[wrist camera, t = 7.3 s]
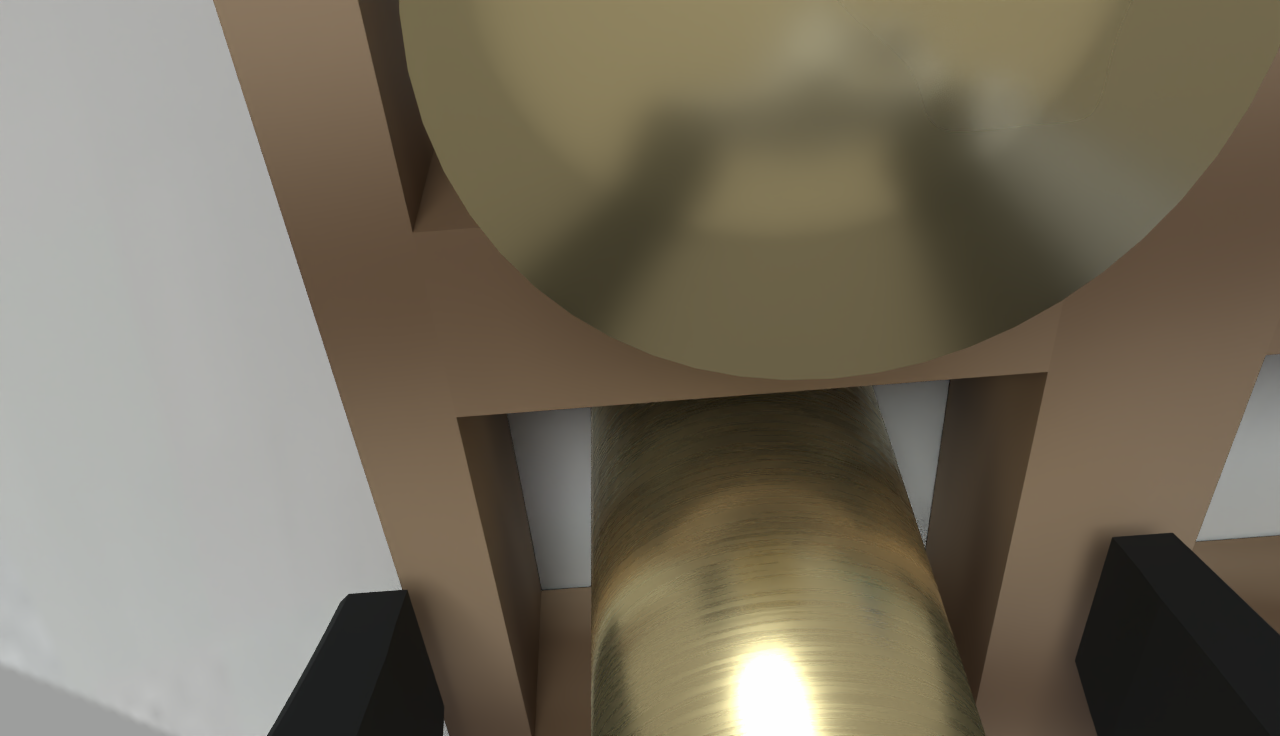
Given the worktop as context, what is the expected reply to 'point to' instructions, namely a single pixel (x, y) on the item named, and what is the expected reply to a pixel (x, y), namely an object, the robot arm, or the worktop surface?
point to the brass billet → (763, 575)
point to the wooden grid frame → (746, 392)
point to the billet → (825, 159)
